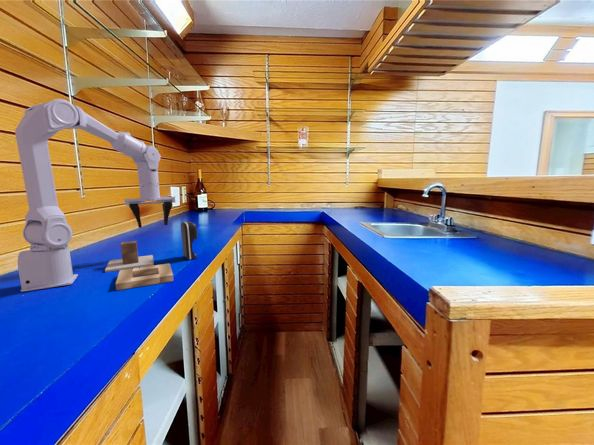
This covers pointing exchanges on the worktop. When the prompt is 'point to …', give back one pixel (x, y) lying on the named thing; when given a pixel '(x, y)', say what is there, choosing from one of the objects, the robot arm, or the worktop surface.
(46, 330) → the worktop surface
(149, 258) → the mat
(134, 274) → the wooden board
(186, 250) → the coffee machine
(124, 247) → the block
